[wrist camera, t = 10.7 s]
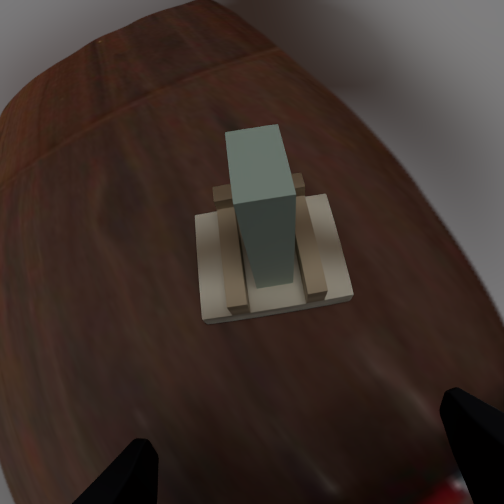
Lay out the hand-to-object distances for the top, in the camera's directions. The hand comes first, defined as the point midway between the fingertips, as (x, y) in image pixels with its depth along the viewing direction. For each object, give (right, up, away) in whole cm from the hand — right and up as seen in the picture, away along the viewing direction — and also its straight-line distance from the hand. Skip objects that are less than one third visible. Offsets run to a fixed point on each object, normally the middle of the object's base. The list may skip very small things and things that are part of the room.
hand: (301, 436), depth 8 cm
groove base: (0, +5, +16) cm, 16 cm away
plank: (0, +5, +14) cm, 15 cm away
